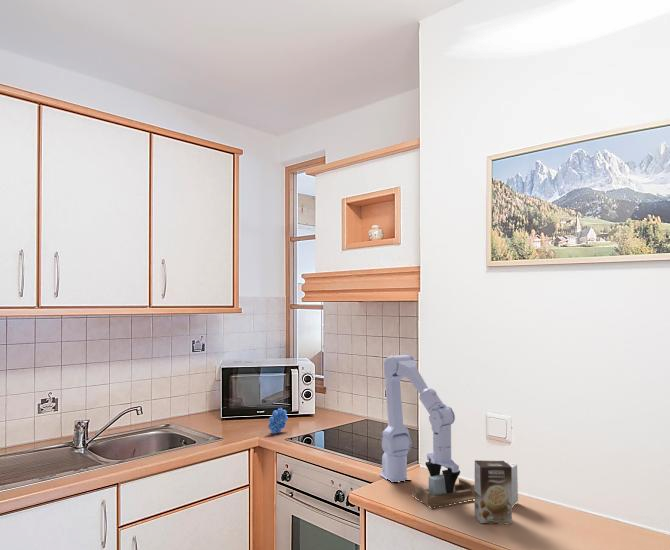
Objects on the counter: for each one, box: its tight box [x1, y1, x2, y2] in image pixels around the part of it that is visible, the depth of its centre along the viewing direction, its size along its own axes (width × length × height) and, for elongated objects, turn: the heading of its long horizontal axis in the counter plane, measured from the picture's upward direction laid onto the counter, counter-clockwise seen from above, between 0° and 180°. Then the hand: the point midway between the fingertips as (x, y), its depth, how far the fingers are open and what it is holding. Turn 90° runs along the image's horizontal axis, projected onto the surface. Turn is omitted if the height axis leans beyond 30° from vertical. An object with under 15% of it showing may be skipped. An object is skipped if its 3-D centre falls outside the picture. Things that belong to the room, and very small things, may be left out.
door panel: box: [428, 474, 455, 496], centre depth 164 cm, size 3×8×6 cm, turn 114°
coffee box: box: [473, 459, 513, 524], centre depth 148 cm, size 9×6×16 cm
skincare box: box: [504, 461, 519, 506], centre depth 160 cm, size 6×4×12 cm
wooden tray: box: [411, 478, 475, 509], centre depth 164 cm, size 11×18×4 cm, turn 114°
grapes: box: [267, 407, 289, 434], centre depth 247 cm, size 12×7×12 cm, turn 136°
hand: (442, 488), depth 164 cm, fingers open, 7 cm apart
